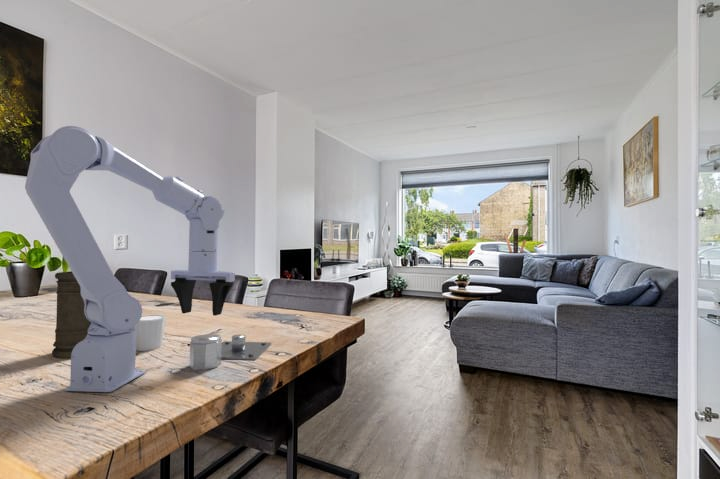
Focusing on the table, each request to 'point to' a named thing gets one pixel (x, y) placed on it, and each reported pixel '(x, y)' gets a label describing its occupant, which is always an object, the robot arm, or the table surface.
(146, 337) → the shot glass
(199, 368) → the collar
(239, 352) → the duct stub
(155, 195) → the robot arm
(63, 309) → the container
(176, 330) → the table surface
